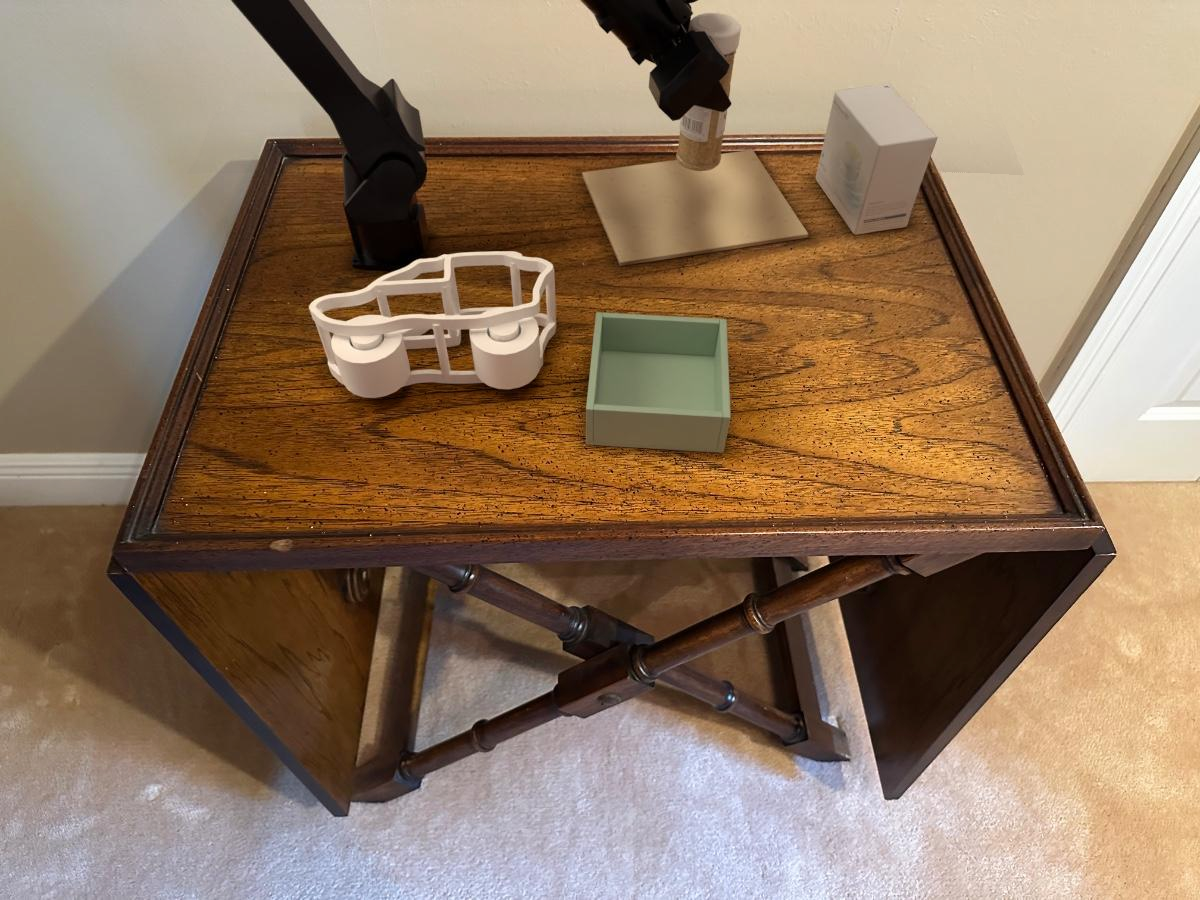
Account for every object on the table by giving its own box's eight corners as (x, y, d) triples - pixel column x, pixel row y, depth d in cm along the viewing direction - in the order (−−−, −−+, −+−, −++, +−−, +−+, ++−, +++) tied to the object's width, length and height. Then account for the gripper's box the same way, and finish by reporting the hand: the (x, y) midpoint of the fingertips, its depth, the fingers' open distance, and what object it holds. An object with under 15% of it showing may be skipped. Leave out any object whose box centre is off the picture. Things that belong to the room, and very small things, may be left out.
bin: (586, 444, 68) (585, 409, 64) (595, 348, 75) (596, 311, 71) (723, 453, 67) (730, 417, 64) (720, 355, 74) (726, 318, 71)
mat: (619, 266, 82) (619, 262, 81) (582, 176, 91) (582, 172, 91) (807, 237, 85) (808, 233, 85) (752, 153, 95) (752, 149, 94)
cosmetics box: (811, 179, 92) (833, 88, 83) (865, 172, 93) (891, 81, 84) (851, 236, 85) (879, 143, 77) (908, 228, 86) (941, 135, 78)
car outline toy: (324, 414, 69) (301, 351, 63) (337, 324, 76) (317, 260, 70) (563, 399, 71) (561, 336, 65) (554, 311, 77) (552, 247, 72)
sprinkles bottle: (729, 165, 82) (752, 26, 72) (692, 178, 81) (710, 38, 70) (702, 143, 85) (720, 6, 74) (665, 155, 83) (679, 17, 73)
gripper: (720, -60, 58) (829, 79, 69) (652, -146, 70) (754, -15, 80) (608, 60, 63) (725, 173, 73) (561, -39, 75) (668, 72, 85)
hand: (719, 95), depth 78 cm, fingers closed on sprinkles bottle, 4 cm apart
